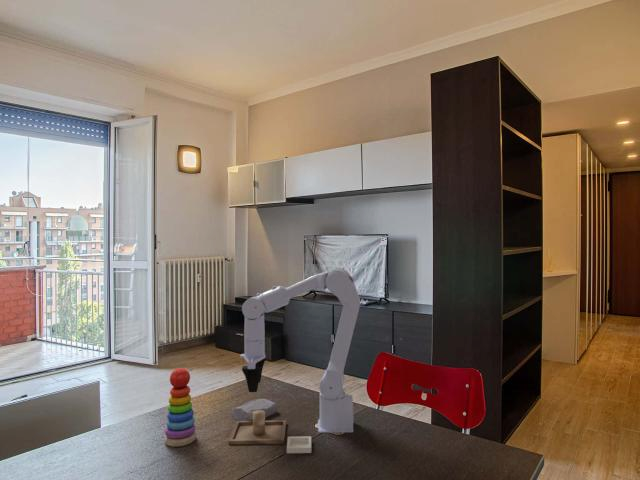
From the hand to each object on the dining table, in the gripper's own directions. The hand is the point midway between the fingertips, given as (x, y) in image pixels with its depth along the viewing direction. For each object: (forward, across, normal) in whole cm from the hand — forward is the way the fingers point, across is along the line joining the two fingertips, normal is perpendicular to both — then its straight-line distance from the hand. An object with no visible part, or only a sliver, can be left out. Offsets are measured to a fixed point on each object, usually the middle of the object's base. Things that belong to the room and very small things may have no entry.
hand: (254, 387), depth 123 cm
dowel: (+10, +7, +2) cm, 12 cm away
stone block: (+11, -6, -1) cm, 13 cm away
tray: (+10, +7, +2) cm, 13 cm away
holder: (+10, +15, +13) cm, 22 cm away
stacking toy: (+11, +10, -18) cm, 23 cm away
